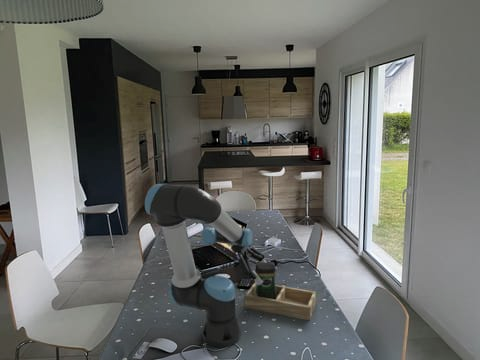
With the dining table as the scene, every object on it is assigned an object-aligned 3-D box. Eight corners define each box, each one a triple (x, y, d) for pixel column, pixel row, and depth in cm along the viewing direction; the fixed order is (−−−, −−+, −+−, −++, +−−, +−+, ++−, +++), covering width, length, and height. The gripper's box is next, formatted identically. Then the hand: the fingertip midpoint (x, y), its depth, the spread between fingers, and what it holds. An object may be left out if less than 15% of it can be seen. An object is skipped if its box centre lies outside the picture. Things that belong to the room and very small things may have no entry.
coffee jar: (275, 295, 171) (275, 259, 167) (277, 304, 163) (276, 266, 159) (255, 296, 171) (254, 259, 167) (255, 304, 163) (255, 266, 160)
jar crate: (309, 320, 152) (309, 307, 151) (245, 307, 163) (244, 295, 162) (316, 303, 165) (316, 291, 164) (255, 292, 176) (255, 281, 175)
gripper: (240, 238, 181) (269, 270, 178) (219, 256, 158) (250, 294, 155) (250, 229, 178) (279, 262, 175) (229, 246, 155) (262, 285, 152)
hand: (266, 277), depth 165 cm, fingers open, 13 cm apart
